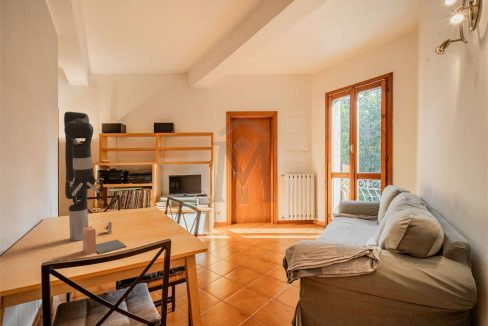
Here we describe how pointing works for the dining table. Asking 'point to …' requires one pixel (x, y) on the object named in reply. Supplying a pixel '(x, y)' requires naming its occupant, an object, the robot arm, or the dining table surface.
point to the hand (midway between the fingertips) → (87, 201)
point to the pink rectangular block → (89, 240)
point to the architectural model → (109, 227)
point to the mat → (109, 246)
